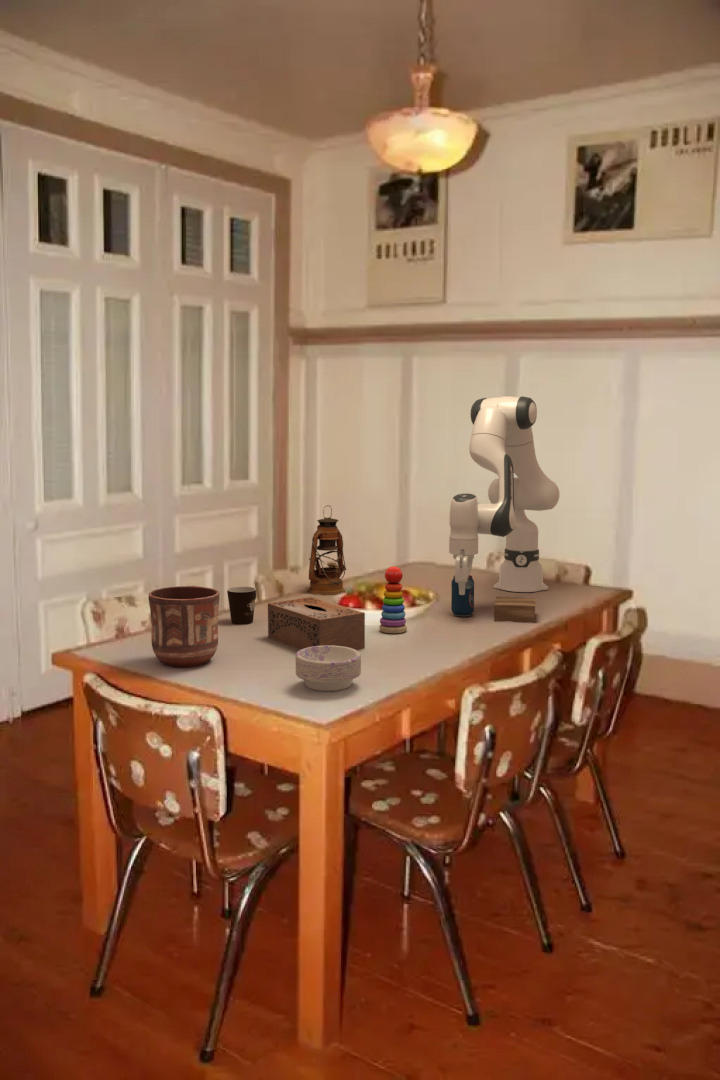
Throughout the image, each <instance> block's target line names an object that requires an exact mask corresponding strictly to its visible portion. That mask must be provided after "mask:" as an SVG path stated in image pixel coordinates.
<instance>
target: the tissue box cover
mask: <svg viewBox="0 0 720 1080" xmlns="http://www.w3.org/2000/svg"><path fill="white" fill-rule="evenodd" d="M365 615H366V614H365V612H363V611H360V610H356V609H354V608H350V607H346V606H343V605H339V604H336V603H334V602H333V603H332V602H329V601H326V600H322V599H319V598H315V597H311V596H308V597H303V598H296V599H289V600H281V601H274V602H268V603H267V634H268V635H267V638H269V639H272V640H274V641H278V642H279V643H281V644H285V645H288V646H291V647H293V648H296V649H299V650H301V649H304V648H308V647H313V646H324V645H332V646H343V647H348V648H352V649H355V650H357V651H359V650H363V649H365V648H366V638H365V637H366V631H365V630H366V623H365V622H366V616H365Z"/></svg>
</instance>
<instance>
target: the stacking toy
mask: <svg viewBox="0 0 720 1080" xmlns="http://www.w3.org/2000/svg"><path fill="white" fill-rule="evenodd" d="M384 578H385V580H386V581H387V583H385V585H384V589H385V590H384V592H383V599H382V602H383V604H382V607H381V608H382V609H381V610H382V611H381V618H380V619H379V623H380V624H379V626H378V627H379V630H380V632H382V633H385V634H394V635H395V634H403V633H405V632H406V631H407V629H408V626H407V625H406V621H407V620H406V618H405V617H406V610H405V609H406V606H405V604H404V602H405V599H404V597H403V595H404V594H403V593H404V592H403V591H402V589H403V584H402V583H400V582H401V581H402V579H403V571H402V569H401V568H400V567H398V566H389V567H388V568H387V569H386V570H385V573H384Z"/></svg>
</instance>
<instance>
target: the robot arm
mask: <svg viewBox="0 0 720 1080" xmlns="http://www.w3.org/2000/svg"><path fill="white" fill-rule="evenodd" d="M537 408H538V407H537V405H536V402H535V401H534V399H532V398H531V397H528V396H513V395H512V396H511V395H510V396H508V395H507V396H506V395H505V396H504V395H502V396H497V397H494V396H493V397H489V398H487V397H483V398H479V399H477V400H475V401H474V403H473V404H472V405H471V409H470V420H471V423H472V426H473V427H472V430H471V435H470V440H469V441H470V442H469V447H468V448H469V449H468V450H469V455H470V457H471V459H472V461H474V463H476V464H477V465H478V466H480V467H482V468H483V469H486V470H487V471H489V472H492V473H494V474H495V475H497V476H498V478H495V479H493V480H492V482H491V483H490V484H489V486H488V489H487V490H488V491H487V497H488V500H489V502H490V503H486V502H478V497H477V496H476V494H472V493H458V494H456V495H455V496H453V497H452V498H451V502H450V507H449V508H450V509H449V520H448V521H449V522H448V523H449V527H450V533H449V537H448V539H449V540H448V542H449V543H448V547H449V549H448V553H449V554H451V555H452V557H453V560H454V576H455V582H456V583H458V585H459V594H460V595H465V584H466V582H467V580H468V578H469V575H470V576H471V572H472V570H473V569H472V568H473V561H474V559H475V555H477V554H479V535H490V536H495V537H496V536H497V537H502V538H504V537H505V548H504V552H503V555H504V560H503V561H502V563H501V564H499V577H498V581H497V582H496V583H495V584H494V585H493V588H494V589H498V590H503V591H508V592H513V593H516V592H517V593H532V592H533V593H535V592H540V591H547V590H549V586H547V584H546V583H544V566H543V564H541V563H540V562H539V559H540V550H539V528H538V526H537V524H536V523H535V522H533V521H532V520H530V519H529V518H528V517H527V515H526V511H538V512H540V511H541V512H543V511H547V510H548V511H549V510H552V509H554V508H555V507H556V506H557V504H558V503H559V500H560V489H559V486H558V485H557V483H556V482H554V481H553V480H552V479H550V478H549V477H548V476H547V475H546V474H545V472H544V471H543V470H542V467H540V465H539V463H538V459H537V455H536V450H535V449H536V448H535V442H534V434H533V428H532V426H534V424H535V423H536V420H537V417H538V411H537V410H538V409H537ZM514 475H516V476H515V477H514Z"/></svg>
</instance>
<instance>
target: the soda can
mask: <svg viewBox="0 0 720 1080" xmlns="http://www.w3.org/2000/svg"><path fill="white" fill-rule="evenodd" d="M450 608H451V612H452V614H453V616H455V617H471V616H472V615H473V613H474V612H475V580H474V578H473V576H472V575H471V574H470V575H469V578H468V580H467V582H466V584H465V595H460V594H459V585H458V583H456V582H455V575H453V578H452V580H451V607H450Z"/></svg>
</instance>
